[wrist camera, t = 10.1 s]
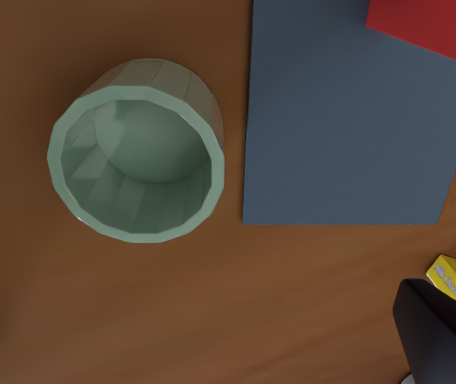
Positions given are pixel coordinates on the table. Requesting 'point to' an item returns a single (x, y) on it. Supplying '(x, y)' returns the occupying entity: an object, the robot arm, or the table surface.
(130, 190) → the tea cup
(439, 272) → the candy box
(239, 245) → the table surface
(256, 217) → the placemat
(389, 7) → the red rectangular bar
